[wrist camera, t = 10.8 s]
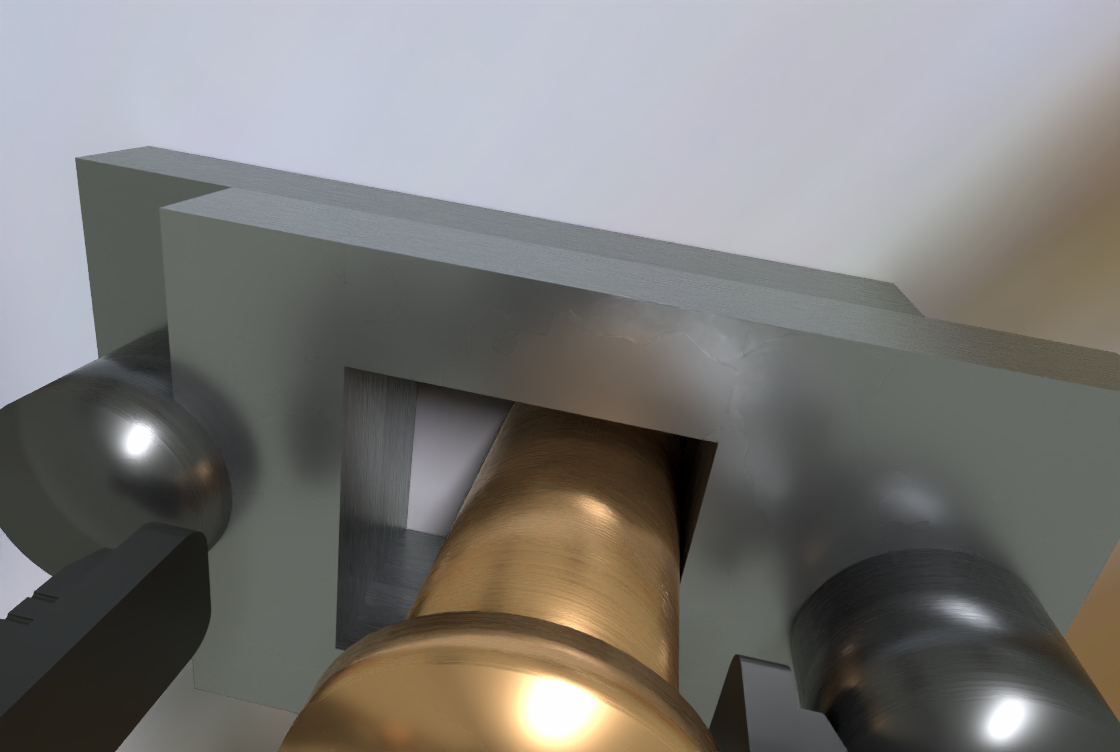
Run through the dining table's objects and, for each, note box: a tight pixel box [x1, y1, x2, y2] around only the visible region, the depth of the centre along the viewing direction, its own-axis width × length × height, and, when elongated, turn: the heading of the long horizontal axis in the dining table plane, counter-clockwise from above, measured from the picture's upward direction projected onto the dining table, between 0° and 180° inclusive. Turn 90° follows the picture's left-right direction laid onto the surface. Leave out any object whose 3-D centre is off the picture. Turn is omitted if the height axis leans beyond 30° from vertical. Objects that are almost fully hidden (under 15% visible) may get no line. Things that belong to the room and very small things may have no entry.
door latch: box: [0, 146, 1120, 752], centre depth 13 cm, size 18×10×7 cm, turn 81°
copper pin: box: [278, 402, 720, 752], centre depth 12 cm, size 5×5×9 cm
